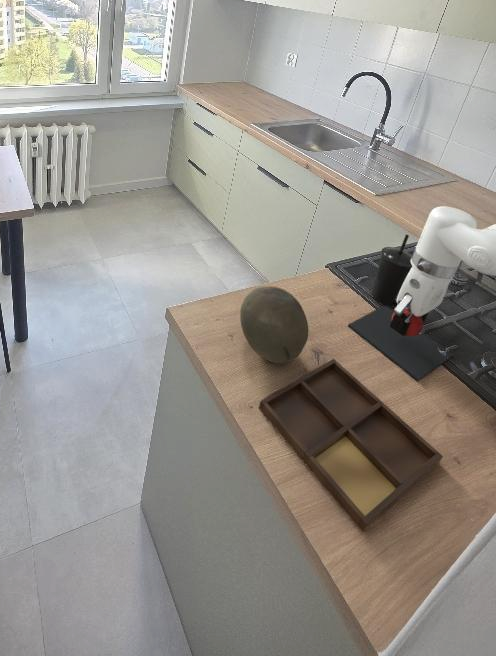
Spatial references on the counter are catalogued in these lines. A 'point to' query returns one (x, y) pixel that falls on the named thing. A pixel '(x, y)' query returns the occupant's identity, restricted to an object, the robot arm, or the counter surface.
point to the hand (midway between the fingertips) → (406, 325)
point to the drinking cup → (391, 273)
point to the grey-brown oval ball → (274, 324)
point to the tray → (350, 440)
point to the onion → (414, 324)
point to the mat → (400, 344)
